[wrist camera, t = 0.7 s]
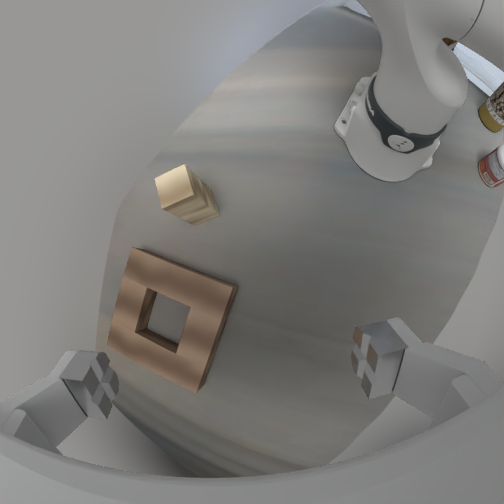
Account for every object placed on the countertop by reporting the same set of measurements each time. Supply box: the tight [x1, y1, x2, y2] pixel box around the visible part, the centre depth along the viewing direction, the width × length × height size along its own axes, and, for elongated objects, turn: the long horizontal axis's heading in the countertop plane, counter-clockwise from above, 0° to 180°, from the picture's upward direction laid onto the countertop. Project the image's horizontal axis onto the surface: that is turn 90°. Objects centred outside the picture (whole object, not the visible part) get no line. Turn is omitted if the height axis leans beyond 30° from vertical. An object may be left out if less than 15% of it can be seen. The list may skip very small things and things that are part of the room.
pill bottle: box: [479, 144, 504, 187], centre depth 32 cm, size 6×6×11 cm
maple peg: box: [155, 164, 219, 225], centre depth 39 cm, size 4×4×12 cm
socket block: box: [107, 247, 238, 393], centre depth 42 cm, size 18×18×4 cm
